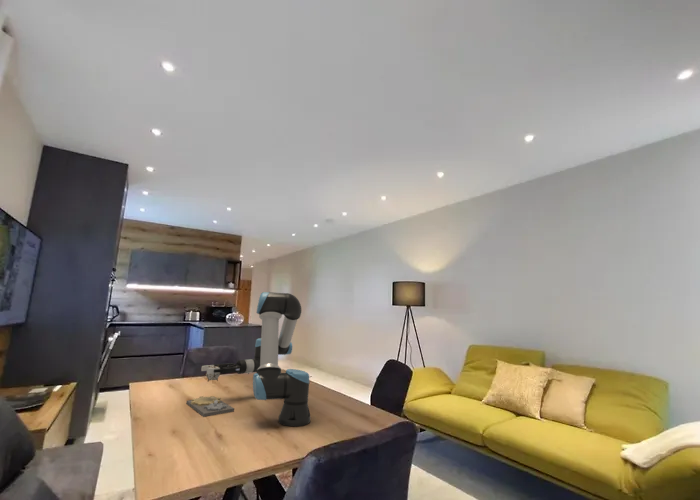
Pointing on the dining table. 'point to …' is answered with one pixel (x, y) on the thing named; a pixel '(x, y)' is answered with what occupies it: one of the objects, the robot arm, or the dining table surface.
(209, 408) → the gear board
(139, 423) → the dining table surface
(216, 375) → the game die
